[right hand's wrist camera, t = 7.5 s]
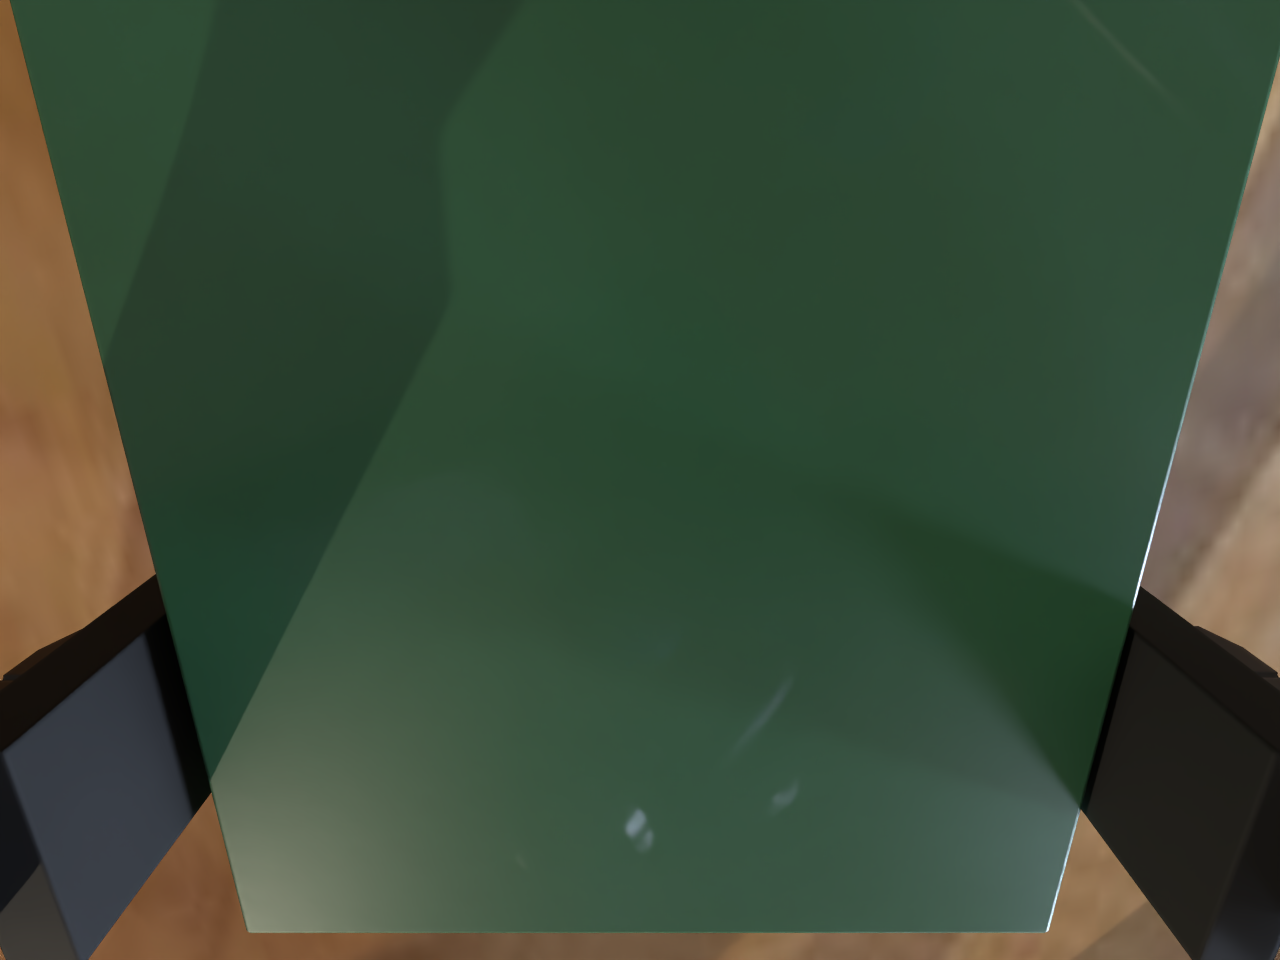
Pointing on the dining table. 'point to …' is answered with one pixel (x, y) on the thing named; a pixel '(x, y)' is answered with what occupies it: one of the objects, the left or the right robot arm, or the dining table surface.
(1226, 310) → the dining table surface
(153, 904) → the dining table surface
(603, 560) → the cabinet
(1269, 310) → the dining table surface
